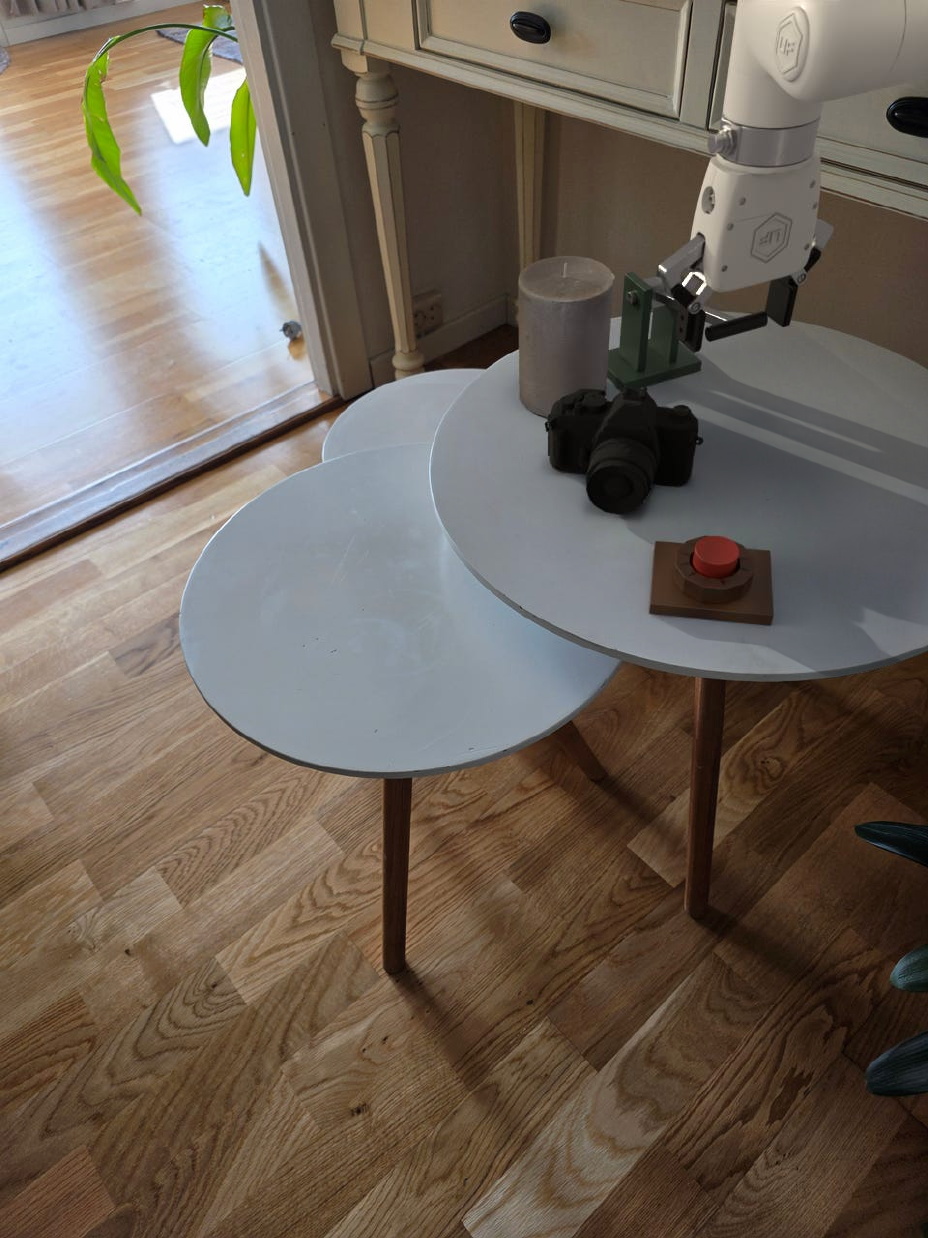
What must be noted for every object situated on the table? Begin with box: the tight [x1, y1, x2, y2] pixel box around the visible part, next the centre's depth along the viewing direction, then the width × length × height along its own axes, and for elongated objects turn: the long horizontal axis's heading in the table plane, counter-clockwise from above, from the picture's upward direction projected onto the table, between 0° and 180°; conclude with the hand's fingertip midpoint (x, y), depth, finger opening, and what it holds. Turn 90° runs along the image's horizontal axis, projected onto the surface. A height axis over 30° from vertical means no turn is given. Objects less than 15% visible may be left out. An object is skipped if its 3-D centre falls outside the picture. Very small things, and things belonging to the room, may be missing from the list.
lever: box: [642, 276, 769, 343], centre depth 88 cm, size 17×6×2 cm, turn 22°
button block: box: [648, 534, 775, 626], centre depth 75 cm, size 10×8×3 cm
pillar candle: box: [517, 255, 616, 418], centre depth 92 cm, size 10×10×15 cm
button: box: [693, 535, 739, 579], centre depth 73 cm, size 4×4×2 cm
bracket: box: [607, 264, 703, 393], centre depth 96 cm, size 7×10×11 cm
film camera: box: [544, 385, 705, 516], centre depth 83 cm, size 15×10×9 cm, turn 73°
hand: (732, 332), depth 83 cm, fingers open, 9 cm apart
